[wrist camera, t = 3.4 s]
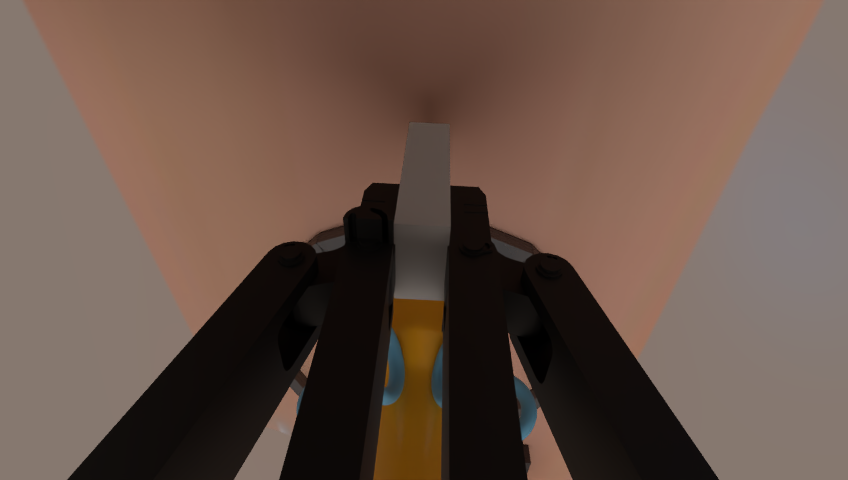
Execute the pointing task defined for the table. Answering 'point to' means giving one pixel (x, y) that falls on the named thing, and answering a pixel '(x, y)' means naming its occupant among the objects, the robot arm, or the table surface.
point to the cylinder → (420, 395)
